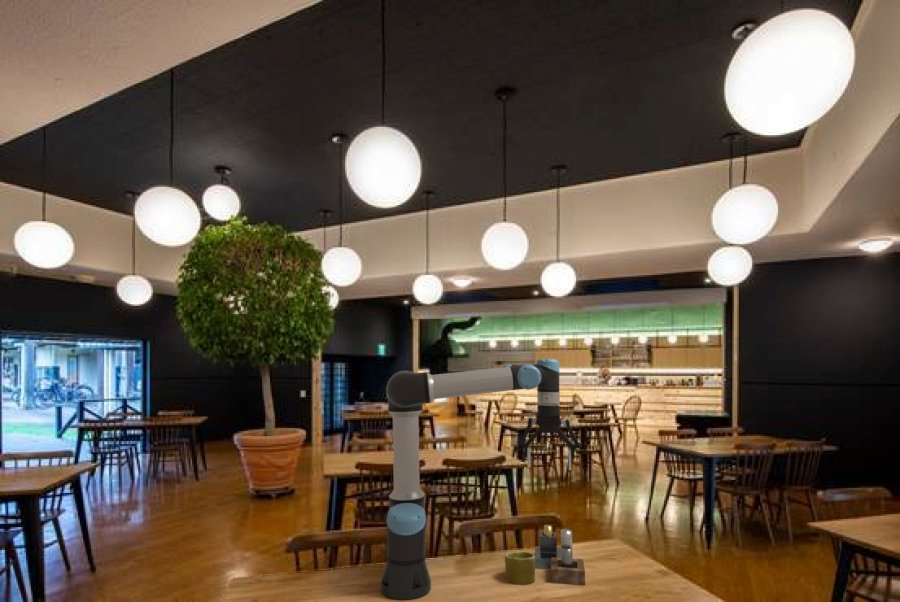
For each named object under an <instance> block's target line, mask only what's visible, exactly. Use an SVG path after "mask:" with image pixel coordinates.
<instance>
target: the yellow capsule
mask: <svg viewBox="0 0 900 602" xmlns="http://www.w3.org/2000/svg"><path fill="white" fill-rule="evenodd" d="M543 531H544V536H552V532H553V525H551V524H544V525H543Z"/></svg>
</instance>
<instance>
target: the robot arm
mask: <svg viewBox="0 0 900 602" xmlns="http://www.w3.org/2000/svg"><path fill="white" fill-rule="evenodd" d="M560 373H561V372H560V362H559V360H557V359H556V358H539V359H537V361H536V364H513V363H512V364H504V365H503V367H495V368H485V369H476V370H467V371H458V372H447V373H439V374H431V373H430V372H413V371H412V370H399V371H397V372H395V373H394V374H393V375H392V376H391V377H390V378H389V380H388V381H387V384H386V390H385V391H386V396H387V406H388V407H387V412H388V413H389V414H390V415H391V417H392V447H393V448H392V452H393V453H392V456H393V457H392V460H393V490H392V491H391V493H390V494H389V496H388V498H389V500H388V501H389V504H388V505H389V507H388V508H389V509H388V512H387V515H386V528H387V529H386V563H385V566H384V570H383V573H382V576H381V580H380V593H381V594H382V595H383V596H385V597H387V598H390V599H394V600H403V601H404V600H405V601H406V600H414V599H418V598H422V597H424V596H426V595H428V593H430V592H431V589H432V579H431V575H430V573H429V570H428V566H427V563H426V524H427V516H426V511H425V510H426V509H425V506H426V505H425V504H426V503H425V500H426V499H425V493H424V491H423V490H422V489H421V486H420V484H421V483H420V482H421V479H420V435H419V434H420V433H419V430H420V429H419V428H420V427H419V416H420V415H421V413H423V411H424V410H423V408H424V407H423V405H425V404H432V403H433V401H434V400H438V399H448V398H455V397H464V396H473V395H475V396H476V395H483V394H490V393H491V394H492V393H498V392H509V391H519V390H528V391H529V390H533V389H535V388H537V390H536V391H537V396H536V397H537V403H538V405H537V417H536V418H532V417H529V418H528V421H527V426H526V428H525V430H524V432H523V434H522V436H521V438H520V440H519V442H518V445H519V446H520V447H522V448H523V457H524V458H527V469H530V468H531V447H530V445H531V443H532V442H533V441H534V440H535V439H536V437H538V435H540V433H541V432H542V433H550V434H551V433H552V434H554V433H555V432H556V434H557V435H559V437H560V438H561V439H562V440H563V442H565V444H566V445H567V446H568V447H569V448H568V471H572V460H573V461H574V460H575V457H576V456H575V450H576V449H577V450H578V449H580V447H581V446H580V445H581V444H580V443H579V441H578V439H577V437H576V435H575V432H574V431H573V429H572V427H571V425H570V422H571V421H570V420H569V419H568V418H567V419H561V411H560V410H561V406H560V405H559V404H561V398H560V397H561V394H560ZM535 423H536V425H537V426H538V428H537V429H536V430H535V432H534V433H533V434H532V435H531V436H530V437H529V439H528V440H527V441H526V438H527V436H528V434H529V433H530V430H531V428H532V426H534V425H535ZM561 425H563V426H564V427H565V428H566V429H567V432H568V433H569V436H570V437H571V439H572V441H573V443H572V442H571V440H570V439H569V438H568V437H567V436H566V434H565V433H564V432H563V431H562V429H560V427H561ZM525 441H526V442H525Z"/></svg>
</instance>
